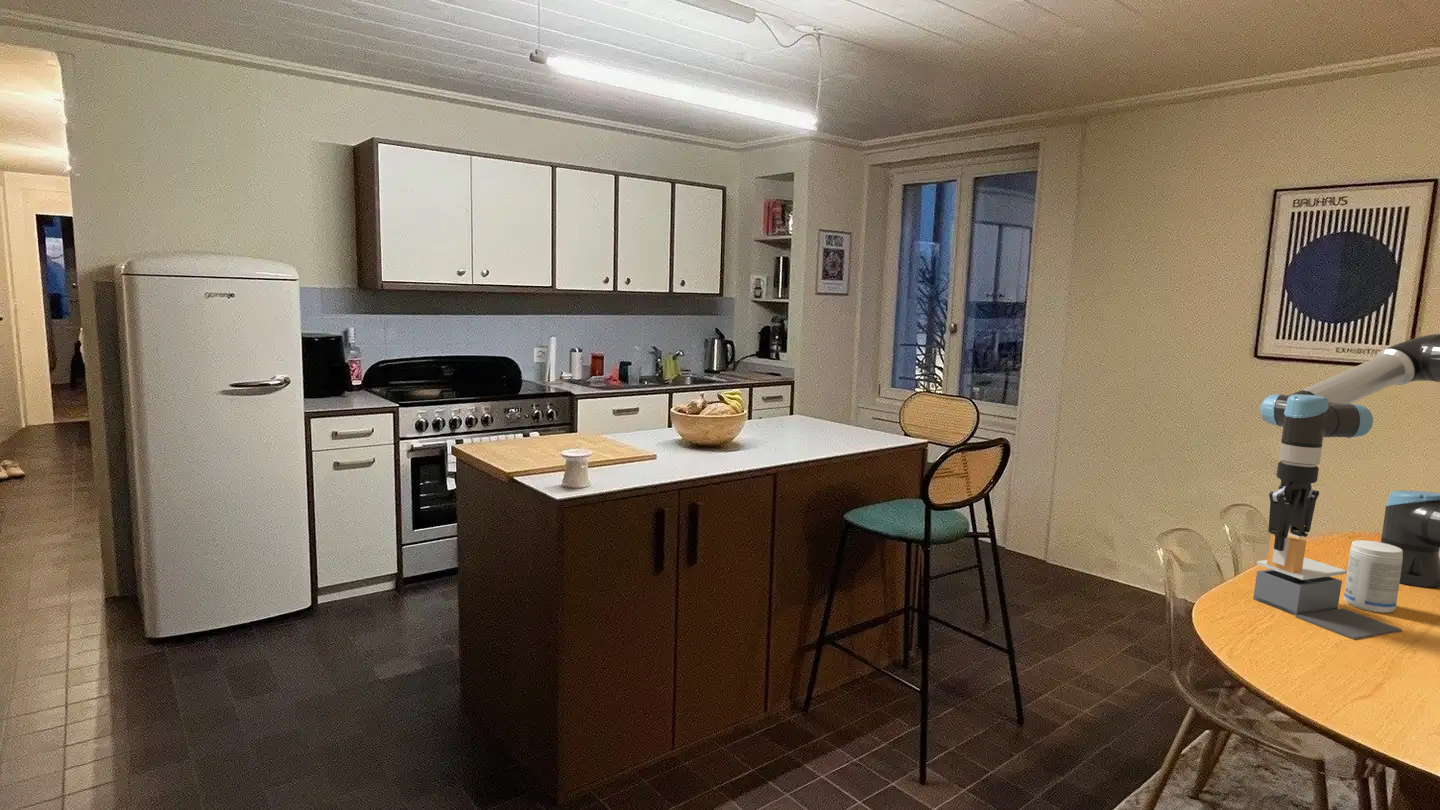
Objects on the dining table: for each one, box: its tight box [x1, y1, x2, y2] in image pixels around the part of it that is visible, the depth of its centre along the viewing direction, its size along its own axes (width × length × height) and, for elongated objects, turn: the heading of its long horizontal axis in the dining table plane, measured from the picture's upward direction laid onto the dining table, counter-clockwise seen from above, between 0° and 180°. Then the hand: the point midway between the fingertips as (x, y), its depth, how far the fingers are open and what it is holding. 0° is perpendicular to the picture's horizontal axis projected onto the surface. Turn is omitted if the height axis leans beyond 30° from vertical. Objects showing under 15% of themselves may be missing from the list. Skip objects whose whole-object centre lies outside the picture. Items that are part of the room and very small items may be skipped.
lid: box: [1256, 533, 1347, 580], centre depth 184 cm, size 15×11×8 cm
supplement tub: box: [1343, 539, 1403, 614], centre depth 185 cm, size 10×10×15 cm
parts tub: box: [1252, 568, 1343, 616], centre depth 185 cm, size 14×10×7 cm
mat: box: [1294, 607, 1403, 640], centre depth 175 cm, size 16×12×1 cm
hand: (1284, 562), depth 182 cm, fingers closed on lid, 3 cm apart
